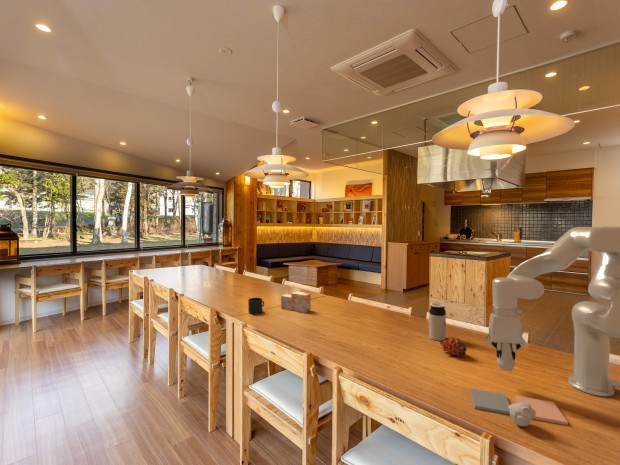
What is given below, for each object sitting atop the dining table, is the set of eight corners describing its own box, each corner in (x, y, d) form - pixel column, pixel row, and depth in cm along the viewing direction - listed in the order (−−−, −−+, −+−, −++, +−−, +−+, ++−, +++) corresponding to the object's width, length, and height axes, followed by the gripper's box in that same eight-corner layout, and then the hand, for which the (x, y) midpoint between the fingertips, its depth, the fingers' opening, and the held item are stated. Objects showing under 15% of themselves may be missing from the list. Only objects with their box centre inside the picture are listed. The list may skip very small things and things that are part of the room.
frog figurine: (534, 435, 88) (535, 412, 88) (506, 425, 93) (506, 402, 92) (536, 425, 93) (537, 402, 92) (509, 415, 97) (510, 393, 97)
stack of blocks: (281, 308, 220) (280, 291, 220) (286, 306, 225) (286, 289, 225) (305, 313, 209) (305, 295, 208) (310, 310, 214) (310, 293, 214)
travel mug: (426, 338, 162) (427, 304, 161) (432, 334, 167) (432, 301, 167) (442, 342, 156) (442, 307, 155) (447, 338, 162) (448, 304, 161)
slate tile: (505, 396, 107) (505, 394, 107) (513, 415, 97) (513, 412, 97) (469, 391, 111) (469, 388, 111) (474, 408, 101) (474, 405, 101)
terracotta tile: (553, 404, 103) (553, 401, 103) (567, 425, 92) (567, 422, 92) (514, 398, 106) (515, 395, 106) (524, 417, 96) (524, 414, 96)
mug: (268, 311, 213) (268, 298, 213) (253, 315, 205) (253, 301, 204) (260, 308, 220) (260, 296, 219) (245, 312, 211) (245, 299, 211)
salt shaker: (498, 363, 118) (497, 330, 118) (516, 367, 114) (515, 333, 114) (495, 369, 113) (495, 335, 113) (514, 374, 110) (513, 338, 109)
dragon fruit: (467, 363, 136) (441, 358, 145) (472, 347, 141) (447, 343, 150) (460, 350, 134) (434, 346, 143) (465, 335, 138) (440, 332, 148)
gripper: (527, 309, 114) (528, 358, 114) (478, 307, 120) (479, 353, 120) (534, 315, 107) (535, 367, 107) (481, 313, 113) (482, 362, 113)
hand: (505, 359), depth 114 cm, fingers closed on salt shaker, 3 cm apart
